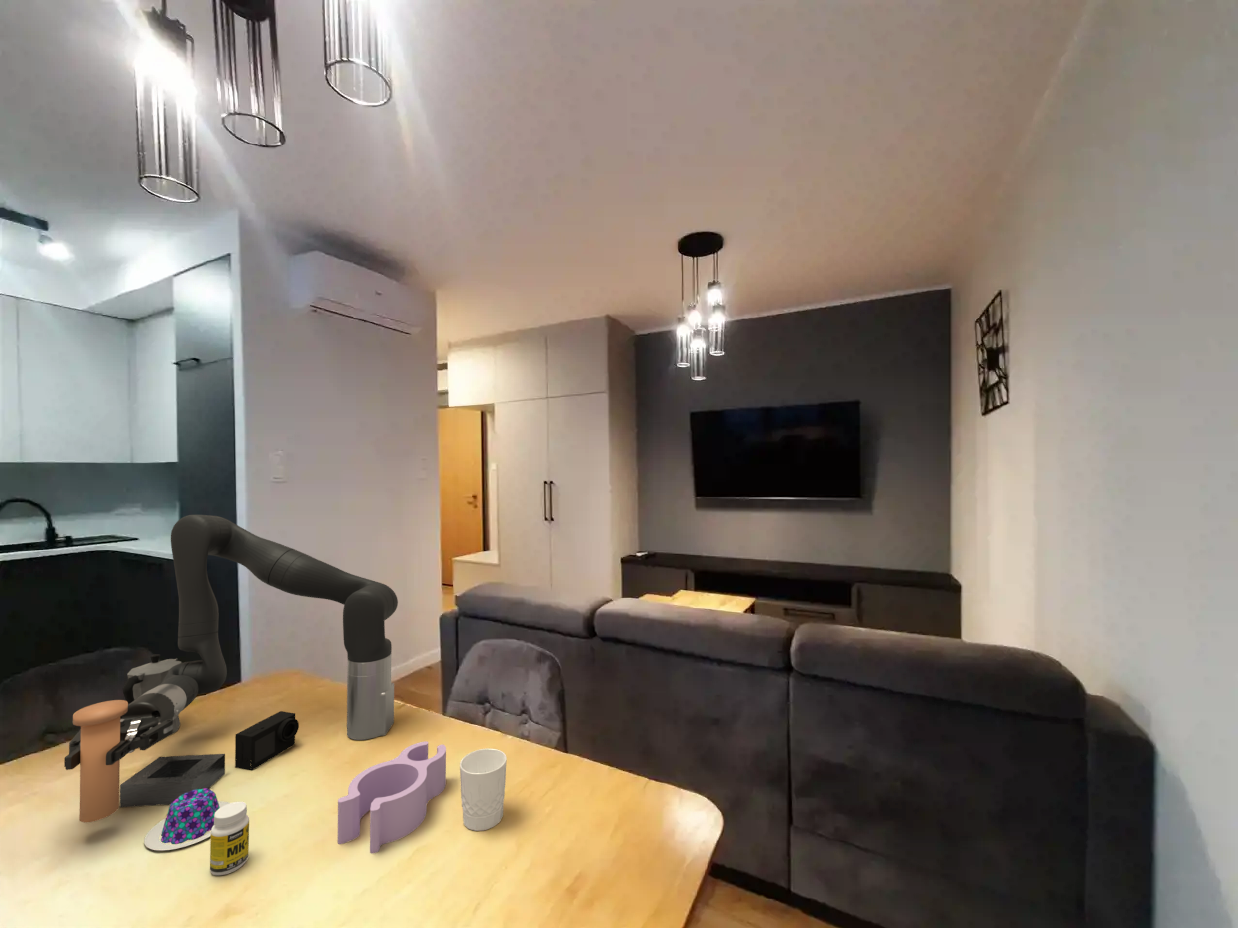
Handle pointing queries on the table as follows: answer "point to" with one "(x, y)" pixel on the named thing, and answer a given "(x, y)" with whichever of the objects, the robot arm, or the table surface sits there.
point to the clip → (392, 795)
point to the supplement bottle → (229, 838)
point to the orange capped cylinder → (99, 758)
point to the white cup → (483, 788)
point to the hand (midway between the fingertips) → (89, 761)
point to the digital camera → (265, 740)
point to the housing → (171, 779)
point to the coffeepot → (148, 680)
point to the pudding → (185, 820)
